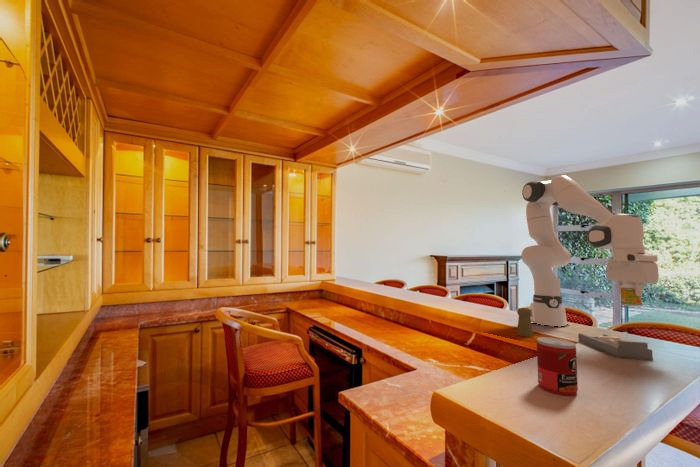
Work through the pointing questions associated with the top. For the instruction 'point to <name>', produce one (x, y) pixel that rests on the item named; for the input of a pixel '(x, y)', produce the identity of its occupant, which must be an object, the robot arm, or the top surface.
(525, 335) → the cork
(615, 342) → the pale grey block
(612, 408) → the top surface
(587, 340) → the pusher lane
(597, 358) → the top surface
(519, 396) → the top surface
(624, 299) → the supplement bottle
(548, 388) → the canned food
